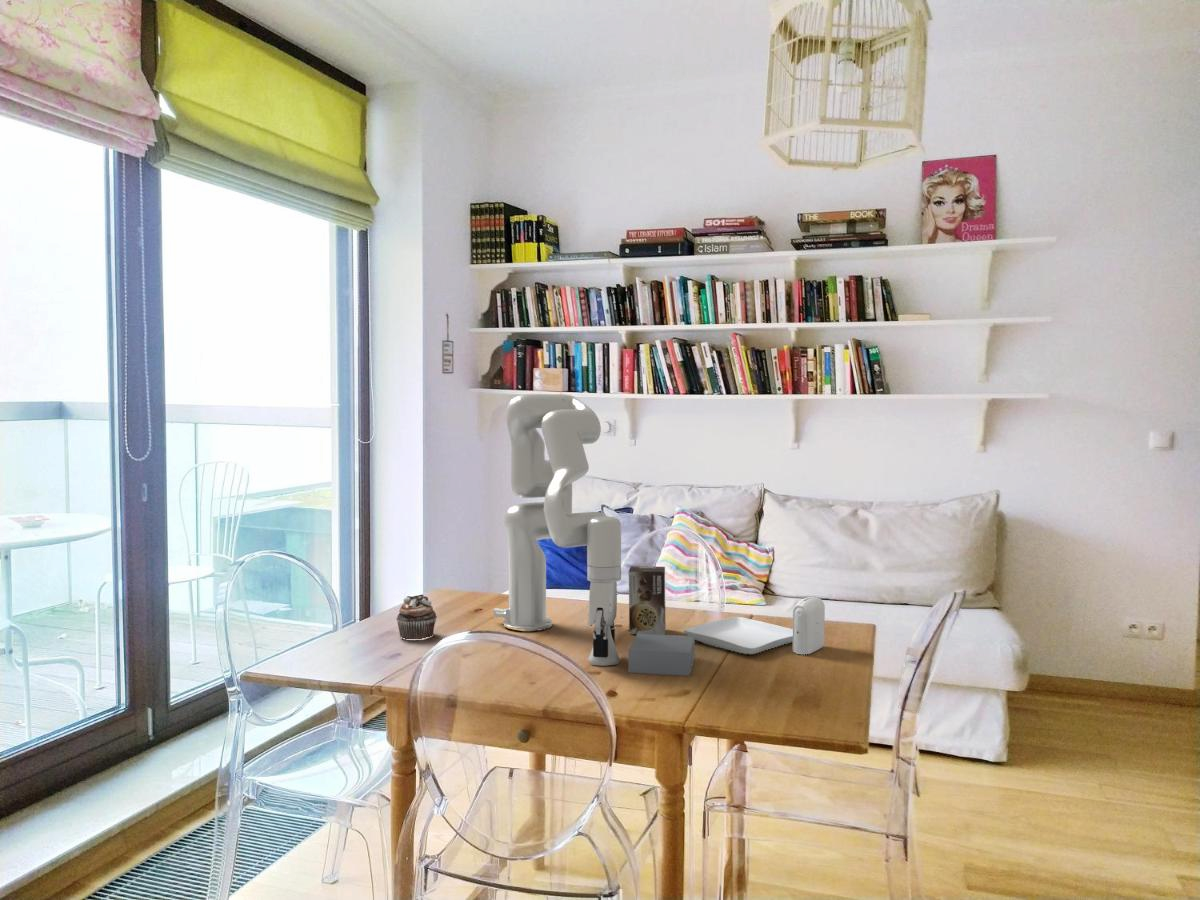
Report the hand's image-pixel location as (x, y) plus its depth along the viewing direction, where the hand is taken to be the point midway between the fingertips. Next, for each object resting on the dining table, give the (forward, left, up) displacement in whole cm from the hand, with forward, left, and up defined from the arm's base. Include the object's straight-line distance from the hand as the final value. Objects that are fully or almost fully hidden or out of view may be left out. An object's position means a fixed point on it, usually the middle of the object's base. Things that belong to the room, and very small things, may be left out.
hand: (604, 651), depth 197 cm
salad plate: (+30, +22, -3) cm, 37 cm away
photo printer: (+45, +18, -3) cm, 49 cm away
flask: (0, 0, -3) cm, 3 cm away
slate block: (+13, 0, -2) cm, 13 cm away
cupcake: (-49, +12, -3) cm, 51 cm away
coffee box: (+6, +27, -3) cm, 28 cm away
